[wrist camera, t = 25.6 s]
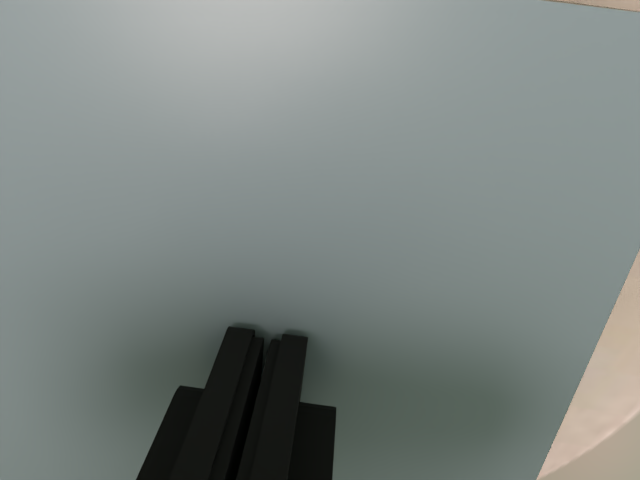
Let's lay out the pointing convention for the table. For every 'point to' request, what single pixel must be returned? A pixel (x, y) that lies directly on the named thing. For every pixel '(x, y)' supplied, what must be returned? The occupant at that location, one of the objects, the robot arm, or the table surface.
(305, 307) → the lid
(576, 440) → the table surface
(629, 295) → the table surface
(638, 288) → the table surface
